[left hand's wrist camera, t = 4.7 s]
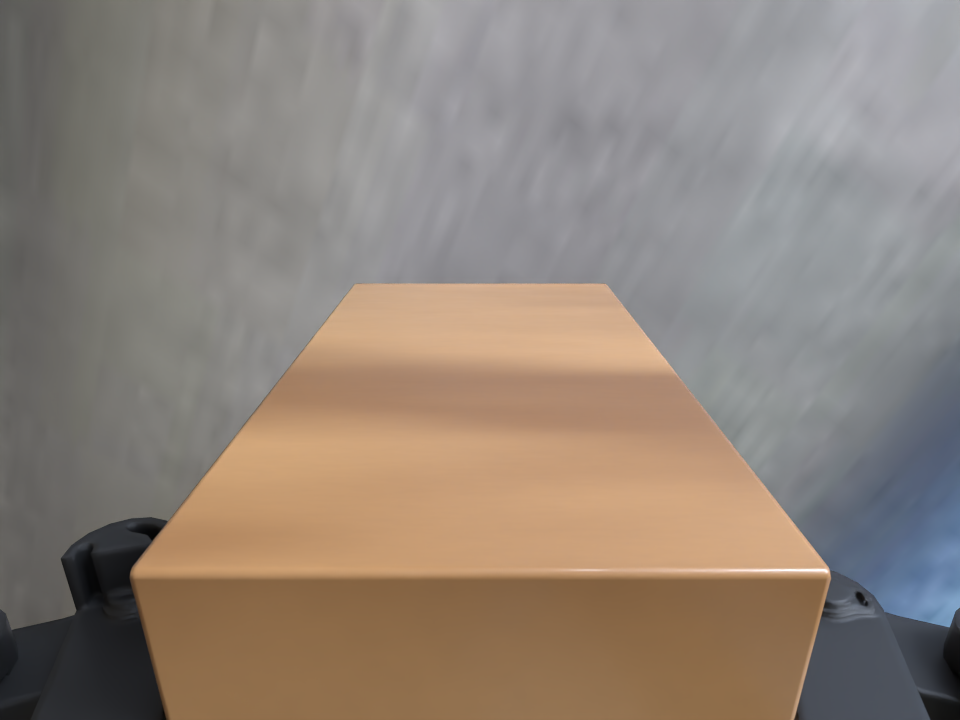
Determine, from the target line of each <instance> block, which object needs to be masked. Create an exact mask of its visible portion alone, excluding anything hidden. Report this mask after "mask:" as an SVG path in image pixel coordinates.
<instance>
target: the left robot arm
mask: <svg viewBox="0 0 960 720" xmlns="http://www.w3.org/2000/svg"><path fill="white" fill-rule="evenodd" d="M167 522H168V521H166V520H161V519H157V518H152V517H149V518H131V519H127V520H123V521H119V522H115V523H111V524H109V525H106V526H104V527H102V528H99V529H97V530H95V531H93V532H90V533H88V534H87V535H86V536H84V537H83V538H81V539H80V540H78V541H77V542H75V543H74V544H73V545H71V547H70V548H69V549H68V550H67V551H66V553H65V554H64V555H63V556H62V558H61V561H62V565H63V568H64V571H65V574H66V578H67V581H68V584H69V587H70V591H71V594H72V597H73V600H74V604H75V607H76V610H77V611H76V613H75V615H73V616H70V617H67V618H63V619H59V620H54V621H50V622H45V623H41V624H37V625H32V626H28V627H23V628H19V629H14V630H11V627H10V624H9V622H8V619H7V616H6V614H5V613H4V612H3V611H2V610H0V720H166V716H165V712H164V708H163V705H162V701H161V697H160V693H159V689H158V685H157V682H156V678H155V674H154V670H153V666H152V662H151V659H150V655H149V651H148V647H147V643H146V639H145V635H144V632H143V628H142V624H141V620H140V616H139V612H138V609H137V605H136V601H135V597H134V593H133V589H132V586H131V582H130V572H131V569H132V567H133V565H134V564H135V563H136V562H137V560H138V559H139V558H140V556H141V555H142V554H143V553H144V551H145V550H146V549H147V548H148V546H149V545H150V544H151V542H152V541H153V540H154V539H155V537H156V536H157V535H158V534H159V532H160V531H161V530H162V528H163V527H164V526H165V525H166V523H167ZM830 575H831V580H830V584H829V588H828V592H827V596H826V600H825V603H824V607H823V611H822V615H821V619H820V623H819V626H818V630H817V634H816V638H815V642H814V646H813V649H812V653H811V657H810V661H809V665H808V669H807V672H806V676H805V680H804V684H803V688H802V691H801V695H800V699H799V703H798V707H797V711H796V714H795V718H794V720H960V608H959V609H958V610H957V611H956V612H955V615H954V618H953V620H952V623H951V626H950V628H949V627H945V626H940V625H936V624H931V623H927V622H922V621H918V620H913V619H909V618H904V617H900V616H896V615H893V614H889V613H886V612H884V610H883V608H882V607H881V606H880V604H879V603H878V601H877V600H876V598H875V597H874V596H873V595H872V594H871V593H870V592H868V591H867V590H866V589H865V588H863V587H862V586H861V585H860V584H858V583H857V582H855V581H853V580H851V579H849V578H847V577H845V576H843V575H841V574H839V573H837V572H834V571H830Z"/></svg>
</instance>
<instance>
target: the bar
mask: <svg viewBox="0 0 960 720" xmlns="http://www.w3.org/2000/svg"><path fill="white" fill-rule="evenodd" d="M830 580H831V575H830V570H829V567H828V566H827V565H826V564H825V562H824V561H823V560H822V559H821V557H820V556H819V555H818V553H817V552H816V551H815V550H814V548H813V547H812V546H811V545H810V543H809V542H808V541H807V539H806V538H805V537H804V536H803V534H802V533H801V532H800V530H799V529H798V528H797V527H796V525H795V524H794V523H793V522H792V520H791V519H790V518H789V516H788V515H787V514H786V513H785V511H784V510H783V509H782V508H781V506H780V505H779V504H778V502H777V501H776V500H775V499H774V497H773V496H772V495H771V494H770V492H769V491H768V490H767V488H766V487H765V486H764V485H763V483H762V482H761V481H760V480H759V478H758V477H757V476H756V474H755V473H754V472H753V471H752V469H751V468H750V467H749V465H748V464H747V463H746V462H745V460H744V459H743V458H742V457H741V455H740V454H739V453H738V451H737V450H736V449H735V448H734V446H733V445H732V444H731V443H730V441H729V440H728V439H727V437H726V436H725V435H724V434H723V432H722V431H721V430H720V429H719V427H718V426H717V425H716V423H715V422H714V421H713V420H712V418H711V417H710V416H709V415H708V413H707V412H706V411H705V409H704V408H703V407H702V406H701V404H700V403H699V402H698V400H697V399H696V398H695V397H694V395H693V394H692V393H691V392H690V390H689V389H688V388H687V386H686V385H685V384H684V383H683V381H682V380H681V379H680V378H679V376H678V375H677V374H676V372H675V371H674V370H673V369H672V367H671V366H670V365H669V364H668V362H667V361H666V360H665V358H664V357H663V356H662V355H661V353H660V352H659V351H658V350H657V348H656V347H655V346H654V344H653V343H652V342H651V341H650V339H649V338H648V337H647V336H646V334H645V333H644V332H643V330H642V329H641V328H640V327H639V325H638V324H637V323H636V321H635V320H634V319H633V318H632V316H631V315H630V314H629V313H628V311H627V310H626V309H625V307H624V306H623V305H622V304H621V302H620V301H619V300H618V299H617V297H616V296H615V295H614V293H613V292H612V291H611V290H610V288H609V287H608V286H607V285H606V284H354V285H353V286H352V288H351V289H350V290H349V292H348V293H347V294H346V295H345V297H344V298H343V299H342V300H341V302H340V303H339V304H338V306H337V307H336V308H335V309H334V311H333V312H332V313H331V314H330V316H329V317H328V318H327V320H326V321H325V322H324V323H323V325H322V326H321V327H320V328H319V330H318V331H317V332H316V334H315V335H314V336H313V337H312V339H311V340H310V341H309V343H308V344H307V345H306V346H305V348H304V349H303V350H302V351H301V353H300V354H299V355H298V357H297V358H296V359H295V360H294V362H293V363H292V364H291V365H290V367H289V368H288V369H287V371H286V372H285V373H284V374H283V376H282V377H281V378H280V379H279V381H278V382H277V383H276V385H275V386H274V387H273V388H272V390H271V391H270V392H269V393H268V395H267V396H266V397H265V399H264V400H263V401H262V402H261V404H260V405H259V406H258V407H257V409H256V410H255V411H254V413H253V414H252V415H251V416H250V418H249V419H248V420H247V421H246V423H245V424H244V425H243V427H242V428H241V429H240V430H239V432H238V433H237V434H236V435H235V437H234V438H233V439H232V441H231V442H230V443H229V444H228V446H227V447H226V448H225V449H224V451H223V452H222V453H221V455H220V456H219V457H218V458H217V460H216V461H215V462H214V463H213V465H212V466H211V467H210V469H209V470H208V471H207V472H206V474H205V475H204V476H203V478H202V479H201V480H200V481H199V483H198V484H197V485H196V486H195V488H194V489H193V490H192V492H191V493H190V494H189V495H188V497H187V498H186V499H185V500H184V502H183V503H182V504H181V506H180V507H179V508H178V509H177V511H176V512H175V513H174V514H173V516H172V517H171V518H170V520H169V521H168V522H167V523H166V525H165V526H164V527H163V528H162V530H161V531H160V532H159V534H158V535H157V536H156V537H155V539H154V540H153V541H152V542H151V544H150V545H149V546H148V548H147V549H146V550H145V551H144V553H143V554H142V555H141V556H140V558H139V559H138V560H137V562H136V563H135V564H134V565H133V567H132V569H131V572H130V582H131V586H132V589H133V593H134V597H135V601H136V605H137V609H138V612H139V616H140V620H141V624H142V628H143V632H144V635H145V639H146V643H147V647H148V651H149V655H150V659H151V662H152V666H153V670H154V674H155V678H156V682H157V685H158V689H159V693H160V697H161V701H162V705H163V708H164V712H165V716H166V720H794V718H795V714H796V711H797V707H798V703H799V699H800V695H801V691H802V688H803V684H804V680H805V676H806V672H807V669H808V665H809V661H810V657H811V653H812V649H813V646H814V642H815V638H816V634H817V630H818V626H819V623H820V619H821V615H822V611H823V607H824V603H825V600H826V596H827V592H828V588H829V584H830Z"/></svg>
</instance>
